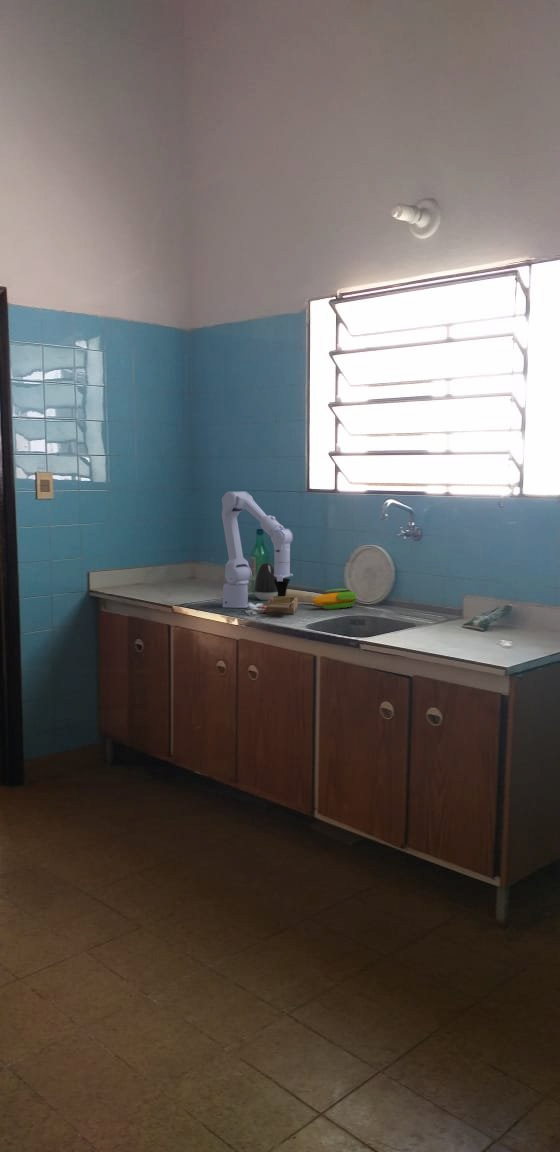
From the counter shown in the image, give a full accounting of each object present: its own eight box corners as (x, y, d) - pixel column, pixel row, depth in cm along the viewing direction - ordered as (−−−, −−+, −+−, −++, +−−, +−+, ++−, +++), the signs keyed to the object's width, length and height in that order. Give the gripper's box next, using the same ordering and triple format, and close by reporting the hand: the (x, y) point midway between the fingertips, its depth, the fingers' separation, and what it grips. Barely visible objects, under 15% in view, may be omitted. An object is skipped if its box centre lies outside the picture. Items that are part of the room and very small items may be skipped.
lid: (287, 609, 326) (287, 601, 326) (267, 608, 327) (267, 600, 327) (291, 603, 340) (291, 595, 340) (272, 603, 341) (272, 595, 340)
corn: (361, 587, 351) (318, 591, 340) (361, 607, 352) (318, 611, 341) (349, 587, 357) (306, 590, 347) (350, 606, 358) (307, 610, 347)
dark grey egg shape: (280, 598, 377) (280, 561, 375) (277, 601, 366) (277, 563, 365) (255, 597, 378) (255, 560, 376) (252, 601, 367) (252, 563, 366)
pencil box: (293, 614, 334) (293, 603, 333) (266, 614, 335) (266, 602, 335) (297, 608, 350) (298, 597, 349) (271, 607, 351) (271, 596, 350)
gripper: (290, 564, 330) (290, 601, 332) (294, 560, 345) (294, 596, 346) (271, 563, 331) (271, 601, 333) (276, 559, 345) (276, 595, 347)
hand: (281, 598), depth 340 cm, fingers closed
